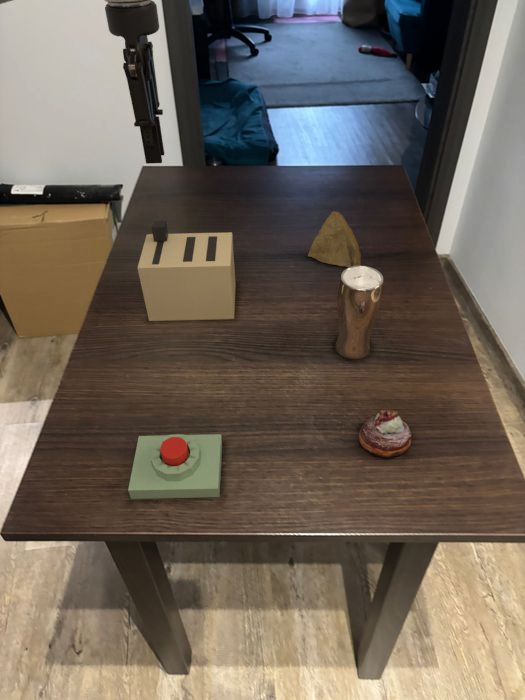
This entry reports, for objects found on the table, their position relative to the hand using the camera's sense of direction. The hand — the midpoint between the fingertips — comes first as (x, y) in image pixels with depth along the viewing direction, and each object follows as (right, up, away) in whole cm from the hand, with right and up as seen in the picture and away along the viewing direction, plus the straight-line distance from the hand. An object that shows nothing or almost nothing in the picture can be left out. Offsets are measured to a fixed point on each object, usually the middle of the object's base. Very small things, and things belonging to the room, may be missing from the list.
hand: (155, 158), depth 93 cm
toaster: (+6, -25, +10) cm, 27 cm away
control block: (+7, -51, -19) cm, 55 cm away
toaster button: (0, -13, +4) cm, 14 cm away
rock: (+34, -15, +19) cm, 42 cm away
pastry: (+37, -47, -15) cm, 62 cm away
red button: (+7, -48, -21) cm, 53 cm away
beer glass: (+35, -34, -1) cm, 48 cm away
